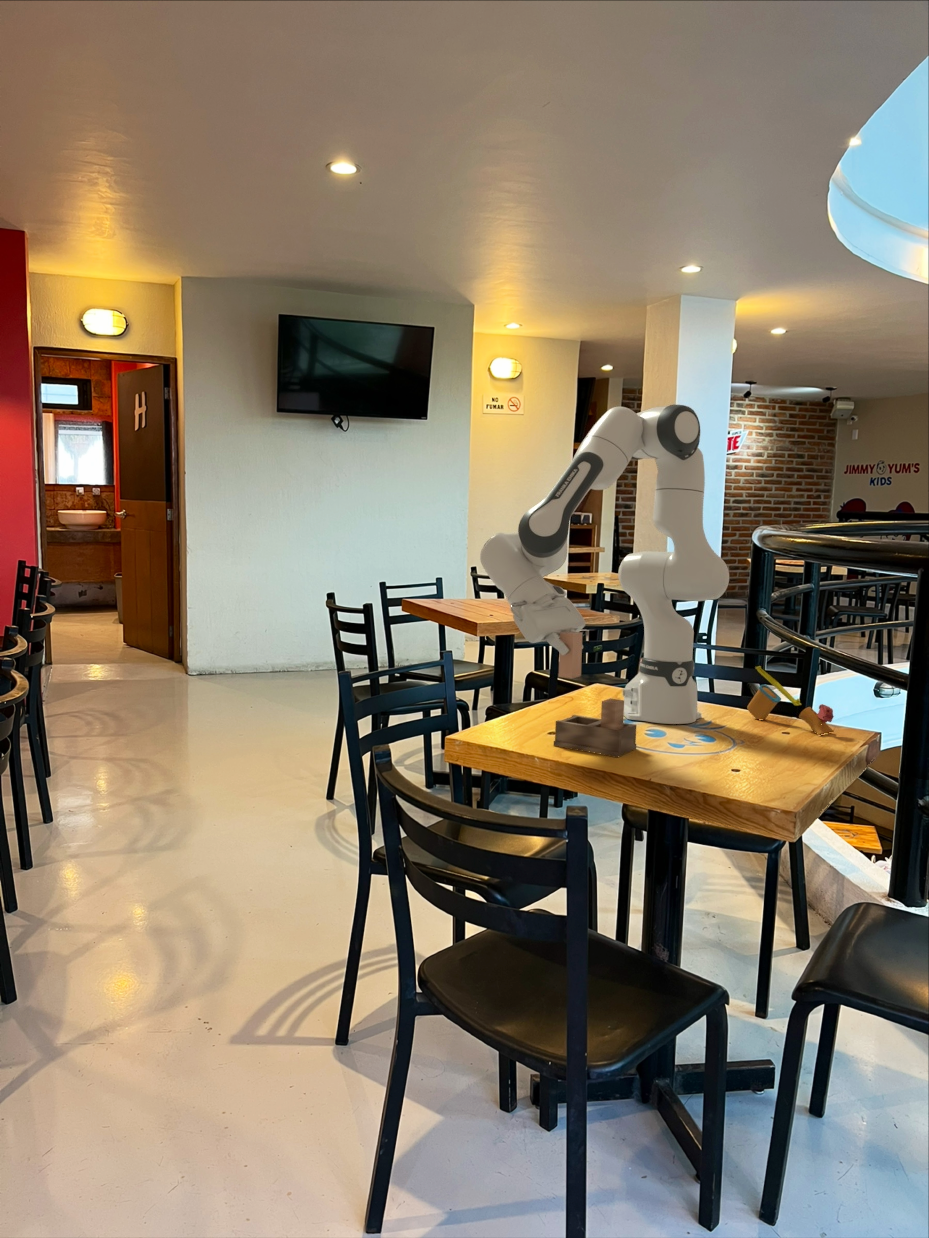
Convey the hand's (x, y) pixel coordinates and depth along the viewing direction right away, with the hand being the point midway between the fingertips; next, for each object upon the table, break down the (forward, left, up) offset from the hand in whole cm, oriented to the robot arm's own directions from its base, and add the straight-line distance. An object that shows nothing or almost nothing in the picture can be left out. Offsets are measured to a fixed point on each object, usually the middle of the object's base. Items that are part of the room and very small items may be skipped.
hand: (573, 651), depth 185 cm
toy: (-7, +57, -19) cm, 60 cm away
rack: (+5, +4, -19) cm, 20 cm away
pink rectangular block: (-1, 0, -5) cm, 5 cm away
